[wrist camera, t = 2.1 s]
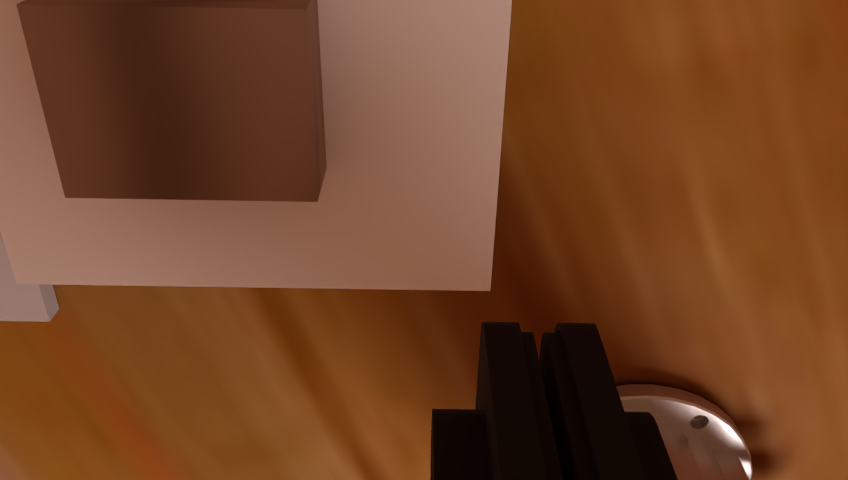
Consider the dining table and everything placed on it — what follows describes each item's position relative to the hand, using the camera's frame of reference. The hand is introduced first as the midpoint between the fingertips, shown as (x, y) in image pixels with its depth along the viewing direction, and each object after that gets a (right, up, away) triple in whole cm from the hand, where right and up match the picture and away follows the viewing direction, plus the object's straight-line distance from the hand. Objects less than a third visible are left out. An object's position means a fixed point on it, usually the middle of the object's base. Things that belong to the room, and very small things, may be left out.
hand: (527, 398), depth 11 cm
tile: (-9, +8, +13) cm, 17 cm away
